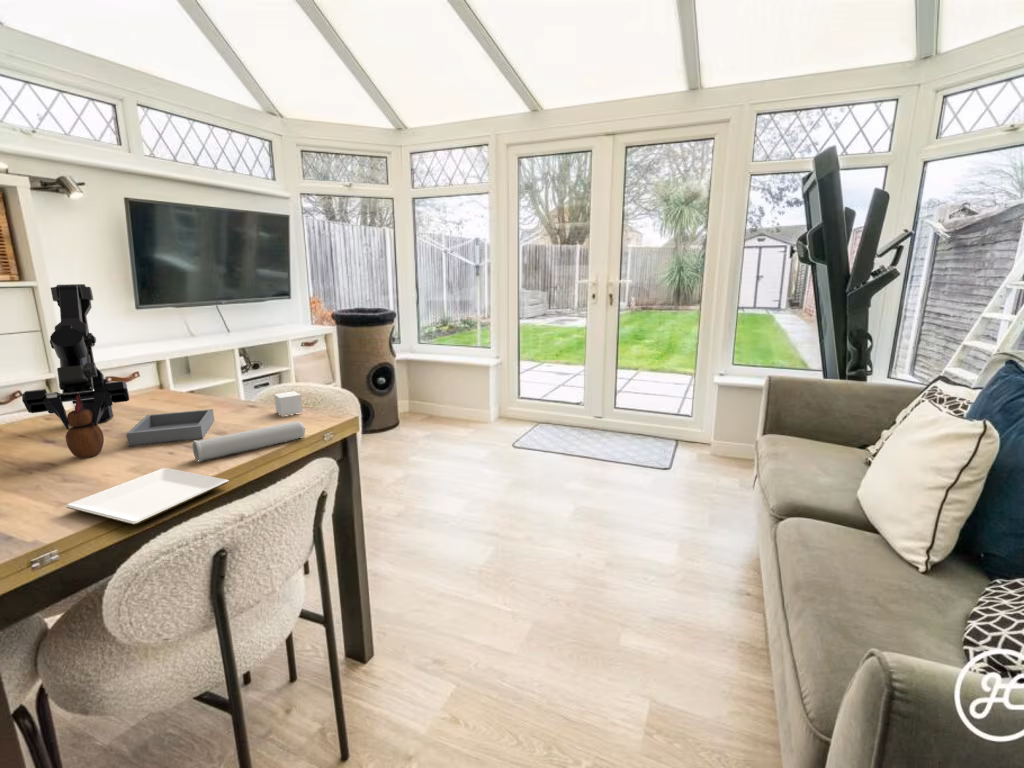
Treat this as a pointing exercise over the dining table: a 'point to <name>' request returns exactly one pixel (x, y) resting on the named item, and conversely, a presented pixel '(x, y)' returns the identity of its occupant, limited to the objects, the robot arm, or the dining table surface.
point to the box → (171, 427)
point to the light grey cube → (288, 403)
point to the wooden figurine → (83, 432)
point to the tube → (246, 440)
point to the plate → (147, 495)
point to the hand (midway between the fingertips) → (81, 426)
